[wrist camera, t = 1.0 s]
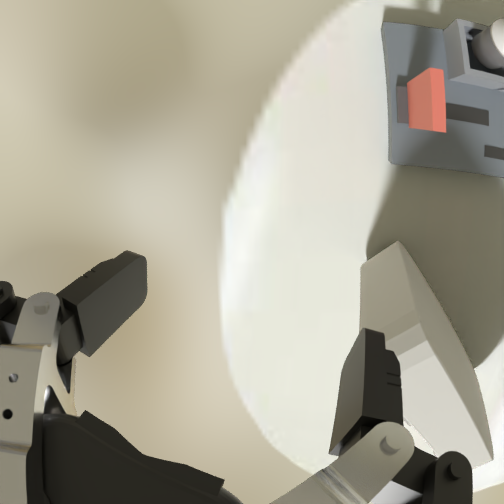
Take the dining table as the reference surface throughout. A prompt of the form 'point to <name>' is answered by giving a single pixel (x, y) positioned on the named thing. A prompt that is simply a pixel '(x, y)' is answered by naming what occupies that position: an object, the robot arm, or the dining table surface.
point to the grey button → (490, 45)
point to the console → (446, 99)
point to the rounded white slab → (425, 356)
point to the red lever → (423, 101)
